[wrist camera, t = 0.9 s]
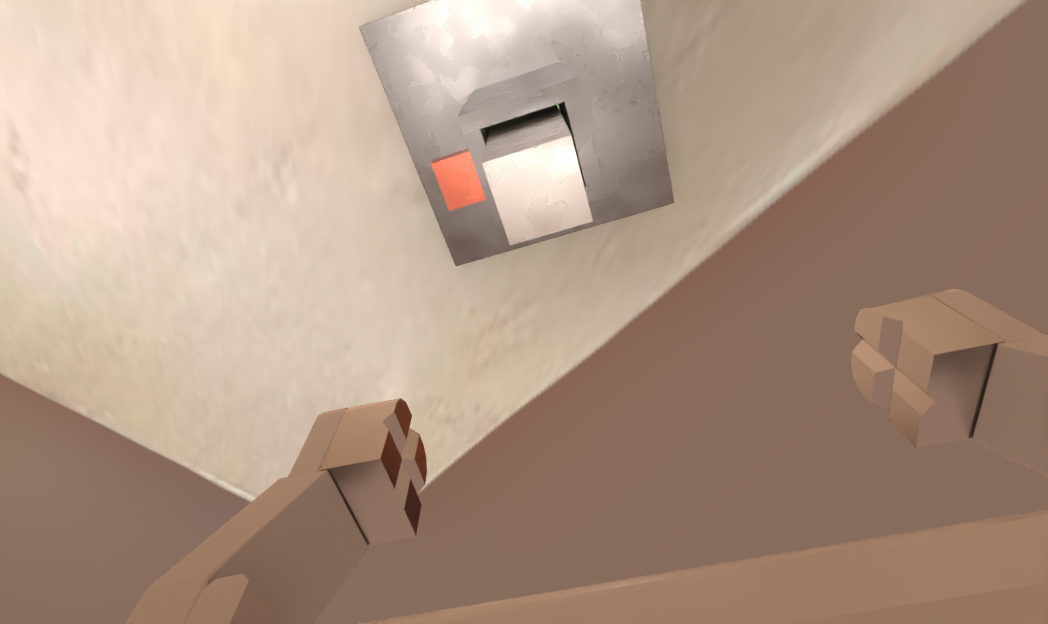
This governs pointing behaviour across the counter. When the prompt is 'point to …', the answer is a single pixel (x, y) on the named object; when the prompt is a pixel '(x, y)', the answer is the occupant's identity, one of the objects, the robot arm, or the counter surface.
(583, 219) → the block
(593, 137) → the jack base
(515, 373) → the counter surface
